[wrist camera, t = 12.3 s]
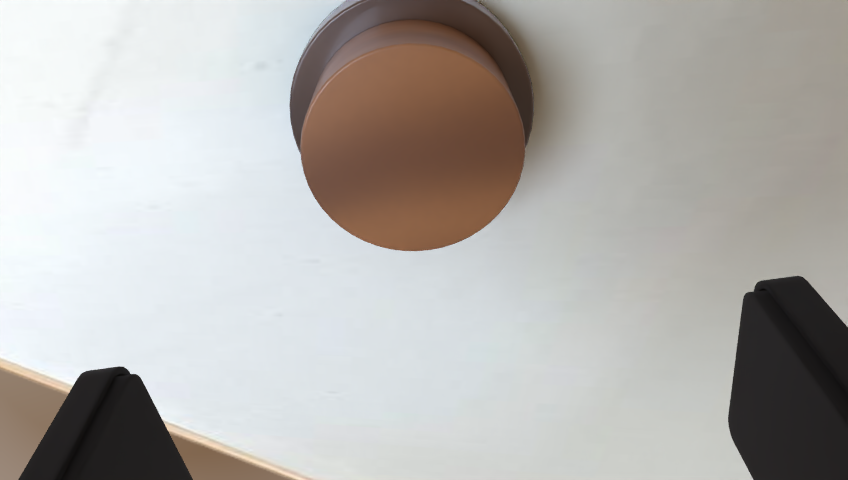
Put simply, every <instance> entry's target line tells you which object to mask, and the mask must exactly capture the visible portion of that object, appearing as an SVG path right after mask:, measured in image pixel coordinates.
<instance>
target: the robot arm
mask: <svg viewBox="0 0 848 480" xmlns="http://www.w3.org/2000/svg"><path fill="white" fill-rule="evenodd" d="M728 422H729V429H730V433H731V436H732V439H733V441H734V443H735V445H736V447H737V449H738V451H739V453H740V455H741V457H742V459H743V460H744V462H745V464H746V466H747V468H748V470H749V472H750V474H751V476H752V478H753V479H754V480H848V327H847V326H846V325H845V324H844V323H843V321H842V320H841V319H840V318H839V317H838V316H837V315H836V313H835V312H834V311H833V310H832V309H831V308H830V307H829V305H828V304H827V303H826V302H825V301H824V300H823V298H822V297H821V296H820V295H819V294H818V293H817V292H816V290H815V289H814V288H813V287H812V286H811V285H810V284H809V282H808V281H807V280H805V279H804V278H803V277H800V276H793V277H786V278H778V279H771V280H764V281H760V282H758V283H757V284H756V286H755V289H754V292H748V293H746V294H745V296H744V299H743V305H742V313H741V321H740V328H739V336H738V344H737V352H736V360H735V368H734V376H733V384H732V392H731V400H730V407H729V415H728ZM19 480H193V479H192V477H191V475H190V473H189V471H188V469H187V467H186V465H185V463H184V461H183V459H182V458H181V456H180V454H179V452H178V450H177V448H176V446H175V444H174V442H173V440H172V438H171V436H170V434H169V432H168V430H167V428H166V426H165V424H164V422H163V421H162V419H161V417H160V415H159V413H158V411H157V409H156V407H155V405H154V403H153V401H152V399H151V397H150V395H149V393H148V391H147V389H146V387H145V385H144V384H143V382H142V380H141V378H140V377H139V376H138V375H136V374H130V372H129V371H128V370H127V369H126V368H124V367H113V368H105V369H98V370H90V371H86V372H84V373H82V374H81V375H80V376H79V378H78V379H77V381H76V382H75V384H74V386H73V387H72V389H71V391H70V393H69V394H68V396H67V398H66V400H65V401H64V403H63V405H62V406H61V408H60V410H59V412H58V413H57V415H56V417H55V418H54V420H53V422H52V423H51V425H50V427H49V428H48V430H47V432H46V434H45V435H44V437H43V439H42V440H41V442H40V444H39V445H38V447H37V449H36V451H35V452H34V454H33V456H32V458H31V459H30V461H29V463H28V464H27V466H26V468H25V469H24V471H23V473H22V474H21V476H20V478H19Z"/></svg>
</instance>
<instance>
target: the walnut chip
mask: <svg viewBox="0 0 848 480" xmlns="http://www.w3.org/2000/svg"><path fill="white" fill-rule="evenodd" d="M400 20H425V21H431V22H437V23H440V24H443V25H446V26H450V27H452V28H454V29H456V30H458V31H461V32H463V33H464V34H466V35H467V36H469V37H470V38H472V39H474V40H475V41H476V42H477V43H478V44H480V45H481V46H482V47H483V48H484V49H485V50H486V51H487V52H488V53H489V54H490V55H491V57H492V58H493V59H494V60H495V62H496V63H497V65H498V66H499V68H500V69H501V71H502V73H503V75H504V78H505V80H506V82H507V84H508V87H509V89H510V91H511V94H512V96H513V99H514V101H515V103H516V106H517V108H518V111H519V114H520V117H521V120H522V123H523V128H524V135H525V148H526V145H527V143H528V140H529V136H530V132H531V129H532V122H533V114H534V97H533V90H532V83H531V79H530V76H529V73H528V69H527V66H526V64H525V62H524V60H523V57H522V55H521V53H520V51H519V49H518V47H517V45H516V44H515V42H514V40H513V39H512V37H511V35H510V34H509V32H508V31H507V29H506V28H505V27H504V26H503V24H502V23H501V22H500V21H499V20H498V18H497V17H496V16H495V15H493V14H492V13H491V12H490V11H489V10H488V9H487V8H486V7H484V6H483V5H482V4H480V3H479V2H477V1H476V0H347V1H345V2H344V3H343V4H341V5H340V6H339V7H337V8H336V9H335V10H333V11H332V12H331V13H330V14H329V15H328V16H327V17H326V18H325V19H324V20H323V21H322V23H321V24H320V25H319V27H318V28H317V29H316V31H315V32H314V33H313V35H312V36H311V38H310V40H309V42H308V44H307V46H306V47H305V49H304V51H303V54H302V56H301V58H300V60H299V63H298V65H297V68H296V71H295V74H294V77H293V82H292V87H291V94H290V119H291V125H292V130H293V135H294V138H295V141H296V144H297V147H298V150H299V152H300V154H301V146H300V145H301V133H302V128H303V124H304V120H305V116H306V113H307V111H308V108H309V105H310V102H311V99H312V97H313V94H314V91H315V88H316V86H317V83H318V80H319V78H320V76H321V74H322V72H323V70H324V68H325V67H326V65H327V63H328V62H329V61H330V60H331V58H332V57H333V56H334V54H335V53H336V52H337V51H338V50H339V49H340V48H341V47H342V46H343V45H344V44H346V43H347V42H348V41H350V40H351V39H352V38H354V37H355V36H357V35H358V34H360V33H362V32H364V31H366V30H368V29H370V28H373V27H375V26H378V25H380V24H384V23H388V22H393V21H400Z"/></svg>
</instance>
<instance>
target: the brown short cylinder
mask: <svg viewBox="0 0 848 480" xmlns="http://www.w3.org/2000/svg"><path fill="white" fill-rule="evenodd" d="M300 146H301V161H302V166H303V171H304V174H305V177H306V180H307V183H308V186H309V188H310V189H311V191H312V193H313V195H314V197H315V199H316V200H317V202H318V203H319V205H320V206H321V207H322V209H323V210H324V211H325V212H326V213H327V214H328V215H329V217H330V218H331V219H332V220H334V221H335V222H336V223H337V224H338V225H339V226H340V227H342V228H343V229H345V230H346V231H348V232H349V233H350V234H352V235H354V236H356V237H358V238H360V239H362V240H363V241H366V242H368V243H371V244H374V245H376V246H380V247H384V248H388V249H394V250H401V251H423V250H432V249H437V248H442V247H445V246H448V245H452V244H455V243H457V242H459V241H462V240H464V239H466V238H468V237H470V236H472V235H473V234H475V233H476V232H478V231H480V230H481V229H482V228H484V227H485V226H486V225H487V224H489V223H490V222H491V221H492V220H493V219H494V218H495V217H496V216H497V215H498V214H499V213H500V212H501V210H502V209H503V208H504V207H505V205H506V204H507V203H508V201H509V200H510V198H511V196H512V195H513V193H514V191H515V189H516V187H517V184H518V182H519V180H520V176H521V173H522V169H523V166H524V158H525V135H524V128H523V123H522V120H521V117H520V114H519V111H518V108H517V106H516V103H515V101H514V99H513V96H512V94H511V91H510V89H509V87H508V84H507V82H506V80H505V78H504V75H503V73H502V71H501V69H500V68H499V66H498V65H497V63H496V62H495V60H494V59H493V58H492V57H491V55H490V54H489V53H488V52H487V51H486V50H485V49H484V48H483V47H482V46H481V45H480V44H478V43H477V42H476V41H475V40H474V39H472V38H470V37H469V36H467V35H466V34H464V33H463V32H461V31H458V30H456V29H454V28H452V27H450V26H446V25H443V24H440V23H437V22H431V21H425V20H400V21H393V22H388V23H384V24H380V25H378V26H375V27H373V28H370V29H368V30H366V31H364V32H362V33H360V34H358V35H357V36H355V37H354V38H352V39H351V40H350V41H348V42H347V43H346V44H344V45H343V46H342V47H341V48H340V49H339V50H338V51H337V52H336V53H335V54H334V56H333V57H332V58H331V60H330V61H329V62H328V63H327V65H326V67H325V68H324V70H323V72H322V74H321V76H320V78H319V80H318V83H317V86H316V88H315V91H314V94H313V97H312V99H311V102H310V105H309V108H308V111H307V113H306V116H305V120H304V124H303V128H302V133H301V145H300Z"/></svg>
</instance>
